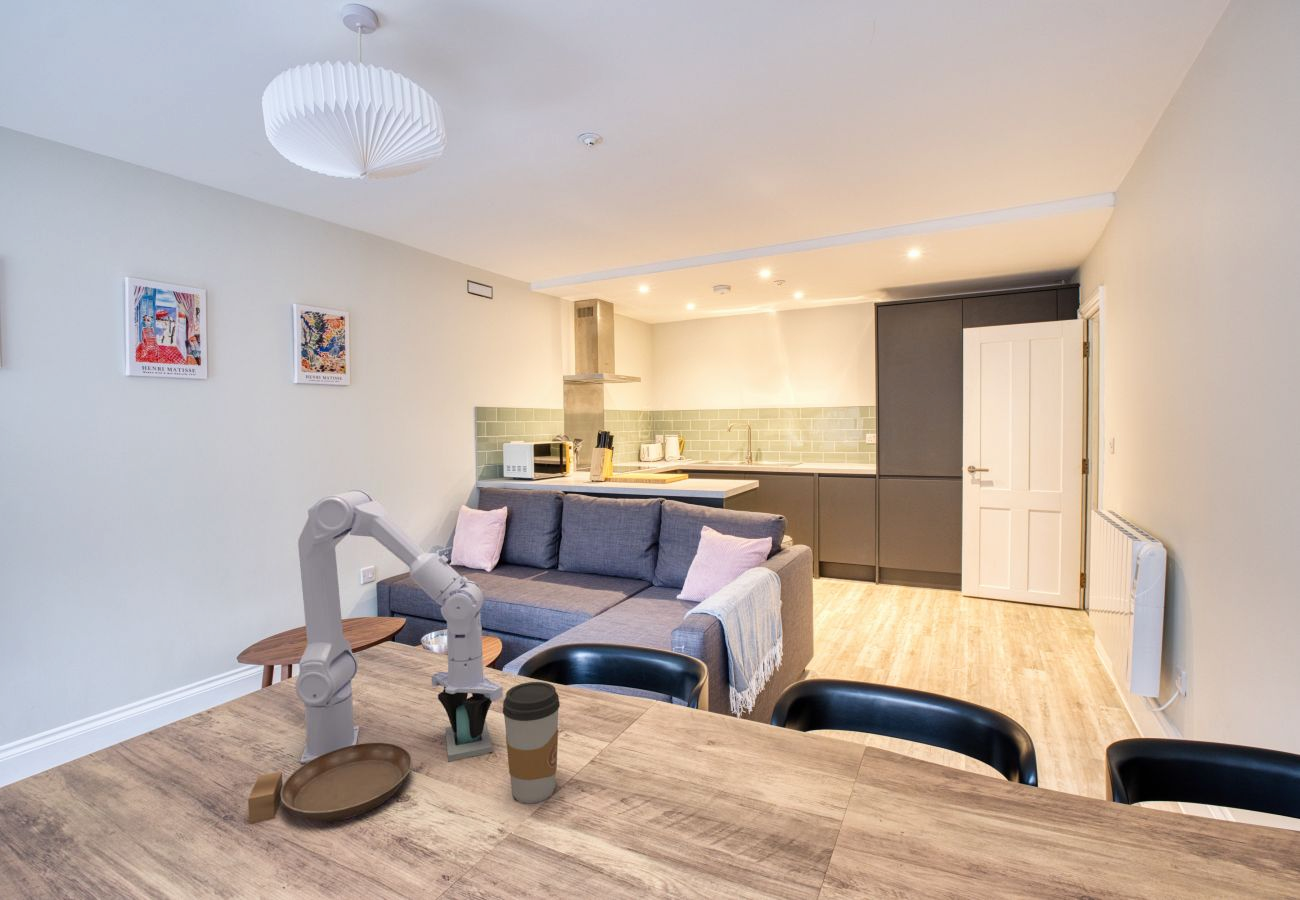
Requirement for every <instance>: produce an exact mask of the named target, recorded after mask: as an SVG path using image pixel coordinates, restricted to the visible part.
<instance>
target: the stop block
mask: <svg viewBox="0 0 1300 900" xmlns="http://www.w3.org/2000/svg"><path fill="white" fill-rule="evenodd" d="M283 784H284V783H283V771H282V770H281V771H277V772H272V773H267V774H261V775H258V777H257V778H256V781H255V783H254V785H253V788H252V790H251V792H250V793H249V797H248V799H247V801H248V803H247V804H248V824H253V823H258V822H263V821H267V820H273V819H275V818H276V815H277V812H278V810H279V806H280V803H281V802H282V799H281V795H280V794H281V789H282V786H283Z"/></svg>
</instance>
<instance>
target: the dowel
mask: <svg viewBox="0 0 1300 900" xmlns="http://www.w3.org/2000/svg"><path fill="white" fill-rule="evenodd" d="M456 722H457V739H456V743H457V744H456V745H461V744H466V743H471V742H476V741H480V735H479V736H478V737H476V738H471V735H470V728H469V719H468V714H467V711H466V708H465V706H464V705H461V706H459V707H458V708H457V709H456Z"/></svg>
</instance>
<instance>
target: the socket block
mask: <svg viewBox="0 0 1300 900" xmlns="http://www.w3.org/2000/svg"><path fill="white" fill-rule="evenodd" d="M489 731H490V730H489V728H488V724H487V720H486V719H485V723H484V728H483V733H482V734H481V736H480V739H481V740H479V741H476V742H471V743H466V744H461V745H457V744H456V739H455V738H457V733H454V732H453V730H452V726H451V725H450V726H447V727H445V739H446V740H445V741H446V752H447V762H448V761H449V762H453V761H458V760H462V759H467V758H473V757H478V756H481V755H480V754H483V755H487V754H486V753H488V754H490V753H489V752H492V753H493V745H492V739H491V735H490V732H489ZM477 755H478V756H477ZM472 756H473V757H472Z"/></svg>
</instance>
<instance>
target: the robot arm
mask: <svg viewBox="0 0 1300 900" xmlns="http://www.w3.org/2000/svg"><path fill="white" fill-rule="evenodd" d="M307 510H308V511H307V512H308V515H307V516H308V518H307V520H306V521H305V524H304V526H303V528H302V530H301V533H300V535H299V537H298V543H297V545H298V557H299V558H298V559H299V566H300V567H299V568H300V579H301V591H302V600H303V611H304V612H303V613H304V621H305V622H304V623H305V632H306V633H305V634H306V643H307V644H306V647H305V650H304V652H303V654H302V656H301V659H300V661H299V664H298V665H299V673H298V677H297V679H296V682H295V688H294V689H295V693H296V696H297V697H298V698H299V700H300V701H301V702H302V703H303V704H304V705H303V706H304V715H305V717H304V719H305V721H304V723H305V738H306V739H305V741H306V744H305V747H304V749H303V750H304V751H303V752H302V754H301V755H302V756H301V759H300V764H306V763H307V762H309V761H311V760H313V759H315V758H316V757H319V756H321V755H323V754H325V753H328V752H331V751H333V750H336V749H340V748H343V747H347V746H351V745H356V744H358V738H359V732H360V726H359V725H354V724H355V723H354V703H353V699H354V698H353V687H352V679H354V678H355V676H356V675H357V672H358V670H359V663H358V660H357V658H356V656H355V655H354V654H353V651H352V645H351V642H350V641H349V640H348V639H347V638H346V637H345V636H344V631H343V623H342V622H343V621H342V609H341V597H340V585H339V578H338V577H339V576H338V566H337V565H338V564H337V563H338V562H337V555H336V546H337V545H339V543H340V542H342V541H343V539H345V537H346V536H348V534H349V535H350V536H357V537H359V536H361V537H370V538H373V539H375V540H376V541H377V542H378V543H380V544H381V545H382V546H383V547H385V548H386V549H387V550H388V551H389V552H391V554H393V555H394V556H396V557H397V558H398V559H399V560H400V561H401V562H402V563H404V565H406V566H408V568H409V577H410V579H411V580H412V582H414V583H415V584H416V585H417V586H418V587H420V589H421V590H423V592H424V593H425V594H427V595H428V596H429V597H430V598H431V599H432V600H433V601H434V602H436V604H438V605H440V606H441V607H440V613H441V616H442V617H443V619H444V620H445V621H446V629H447V630H446V646H447V671H441V670H440V671H438V672H435V673H433V674H432V675H431V686H432V687H436V688H437V687H439V686H440V687H443V690H442V691H441V692H440V693H439V694H438V695H437V699H438V701H439V702H440V703H441V705H442V706H443V708H444V710H445V712H446V715H447V717H448V720H449V723H450V727H451V726H452V730H453V732H454V733H457V722H456V709H457V708H458V707H459V706H461V705H464V706H465V708H466V711H467V714H468V719H469V728H470V735H471V738H476V737H478V736H479V737H480V735H481V734H482V733H483V728H484V723H485V720H486V718H487V715H488V712H489V710H490V707H491V705H492V703H494V702H496V701H498V700H500V699H502V698H503V697H504V696H503V685H500V684H498V683H495V682H494V681H492V680H491V679H489V678H487V677H486V676H485V675H484V665H483V664H484V658H483V632H482V630H483V628H482V627H483V626H482V618H481V617H482V615H481V612H480V609H481V608H482V606H483V604H484V601H485V595H484V591H483V590H482V588H481V587H480V585H479V584H478V583H477V582H475V581H473V580H469V579H468V578H467V577H466V575H464V576H462V575H460V574H459V573H458V571H456V570H455V569H454V568H453V567H452V566H451V565H450V564H448V561H449V559H448V558H447V557H446V556H445V554H443V555H439V554H438V553H436V552H425V551H424V550H423V548H421V547H420V546H419V545H418V544H417V543H416V541H414V540H413V539H412V537H410V536H409V535H408V533H406V532H405V530H404V529H403V528H402V527H401V526H400V525H399V524H398V523H397V522H396V520H394V519H393V518H392V517H391V516H390V514H389V513H387V511H386V509H385V508H384V506H383V505H382V503H380V502H378V501H376V499H375V500H374V499H373V497H372V496H371V495H370V494H369V493H368V492H366V491H364V490H362V489H351V490H348V491H345V492H342V493H338V494H330V495H326V496H323V497H322V498H321V499H319V500H318V501H316V503H314V504H313V505H312V506H311V507H310V508H309V509H307ZM468 694H471V695H472V696H470V697H468Z"/></svg>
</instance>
